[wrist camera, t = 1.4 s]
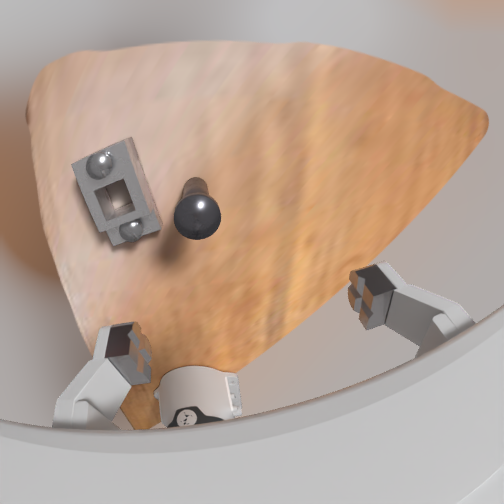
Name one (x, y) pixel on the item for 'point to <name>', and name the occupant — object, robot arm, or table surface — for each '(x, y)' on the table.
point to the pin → (197, 211)
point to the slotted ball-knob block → (95, 194)
